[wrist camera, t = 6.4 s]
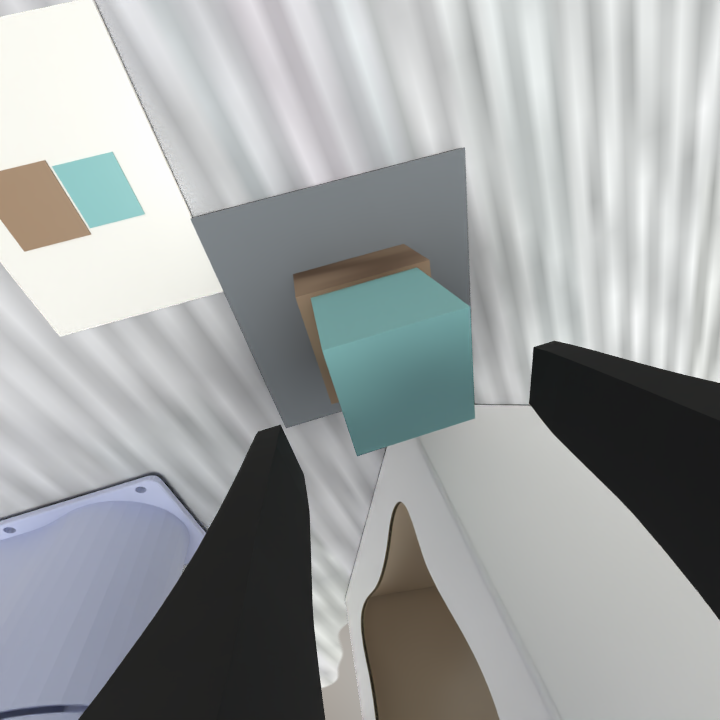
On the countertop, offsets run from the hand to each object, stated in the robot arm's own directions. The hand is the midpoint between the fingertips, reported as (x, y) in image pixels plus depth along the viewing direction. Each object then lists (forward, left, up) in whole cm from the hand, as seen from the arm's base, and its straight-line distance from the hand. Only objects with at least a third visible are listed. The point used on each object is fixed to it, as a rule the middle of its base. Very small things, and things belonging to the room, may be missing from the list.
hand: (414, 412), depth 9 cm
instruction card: (-9, +7, -8) cm, 14 cm away
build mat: (0, 0, -8) cm, 8 cm away
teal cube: (0, 0, -5) cm, 5 cm away
